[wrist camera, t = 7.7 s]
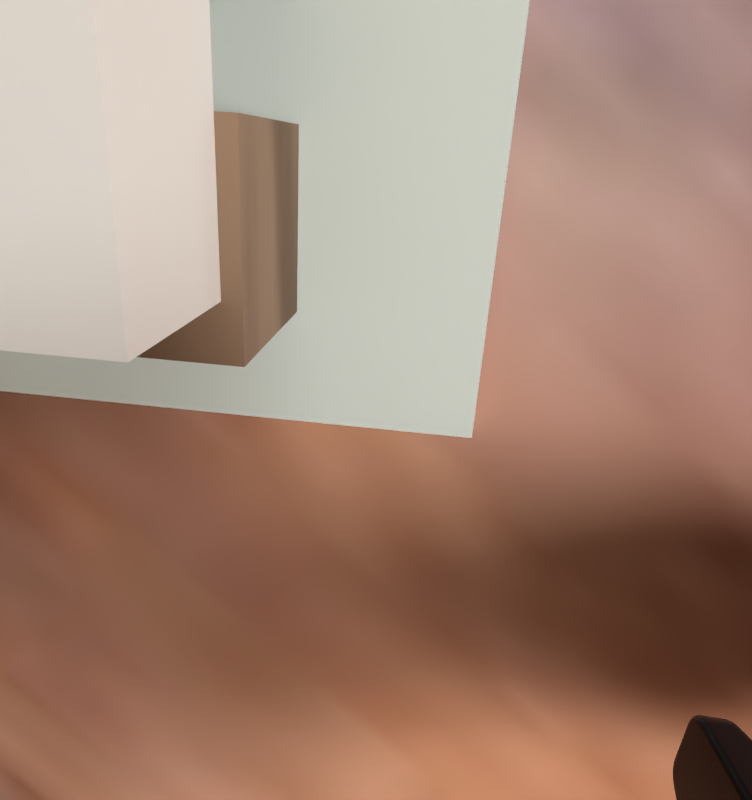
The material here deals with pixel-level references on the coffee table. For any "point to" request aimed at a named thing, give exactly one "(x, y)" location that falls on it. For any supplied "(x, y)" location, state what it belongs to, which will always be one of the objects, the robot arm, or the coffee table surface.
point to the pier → (247, 244)
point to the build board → (356, 215)
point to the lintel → (105, 175)
